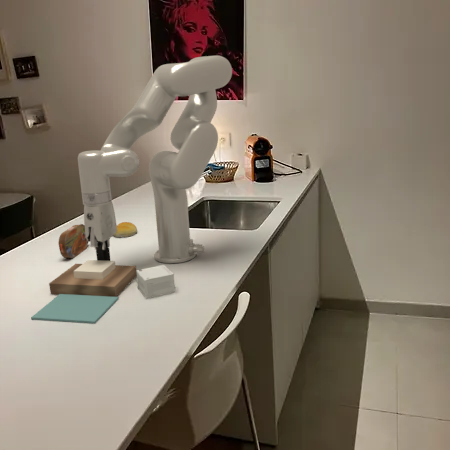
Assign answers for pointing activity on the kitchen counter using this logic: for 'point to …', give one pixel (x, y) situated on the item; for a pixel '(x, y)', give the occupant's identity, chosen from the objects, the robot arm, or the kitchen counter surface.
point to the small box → (155, 281)
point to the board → (94, 282)
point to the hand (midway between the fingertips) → (104, 262)
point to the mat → (75, 308)
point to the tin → (73, 241)
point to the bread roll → (125, 230)
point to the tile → (94, 269)
